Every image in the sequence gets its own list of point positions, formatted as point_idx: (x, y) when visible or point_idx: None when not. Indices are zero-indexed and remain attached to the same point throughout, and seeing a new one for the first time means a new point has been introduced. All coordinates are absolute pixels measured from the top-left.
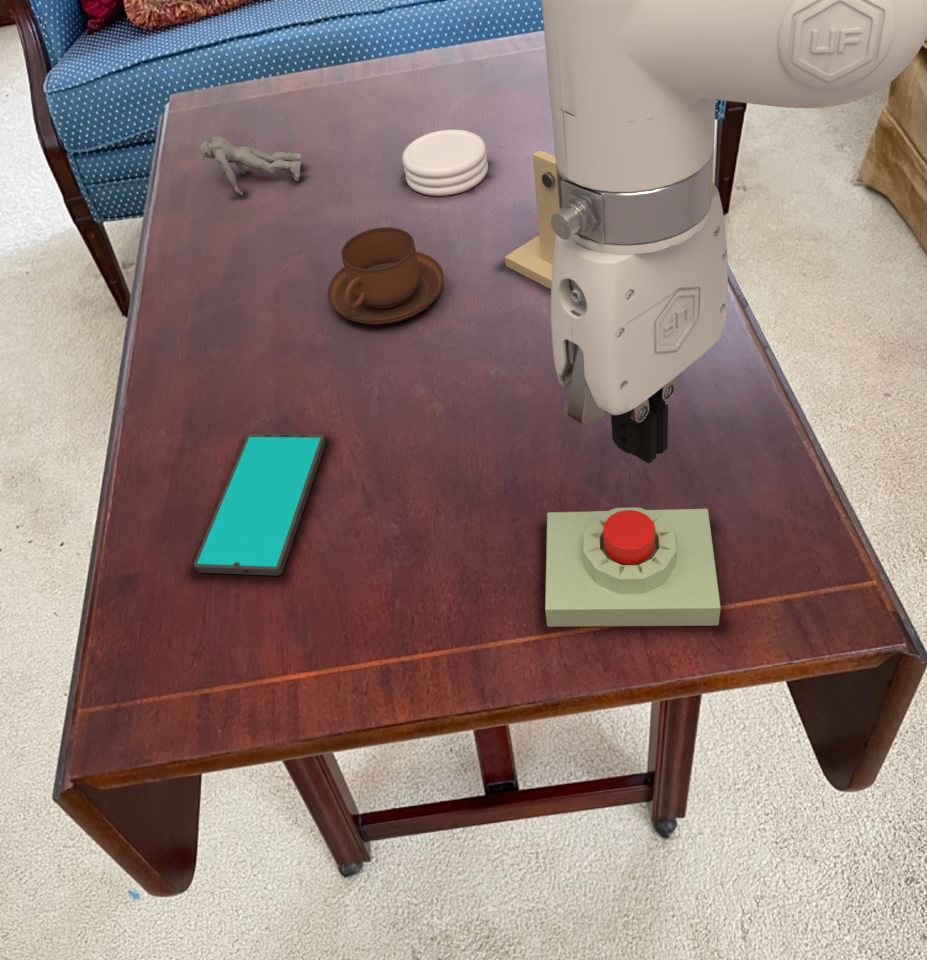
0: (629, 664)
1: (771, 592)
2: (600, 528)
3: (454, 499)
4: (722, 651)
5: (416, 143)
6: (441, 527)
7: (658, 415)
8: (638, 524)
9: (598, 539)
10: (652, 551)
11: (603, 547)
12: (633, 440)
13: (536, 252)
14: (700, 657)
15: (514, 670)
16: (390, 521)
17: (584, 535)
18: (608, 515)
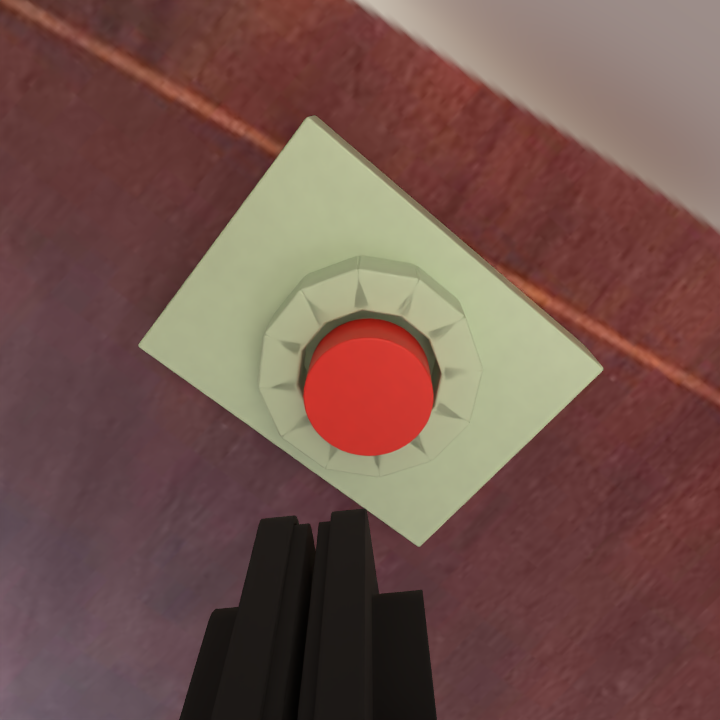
0: (529, 167)
1: (158, 103)
2: None
3: (499, 666)
4: (354, 57)
5: None
6: (562, 634)
7: (283, 714)
8: (340, 395)
9: None
10: (345, 324)
11: None
12: (426, 648)
13: None
14: (402, 78)
15: (706, 309)
16: (620, 695)
17: (435, 455)
18: (352, 462)
